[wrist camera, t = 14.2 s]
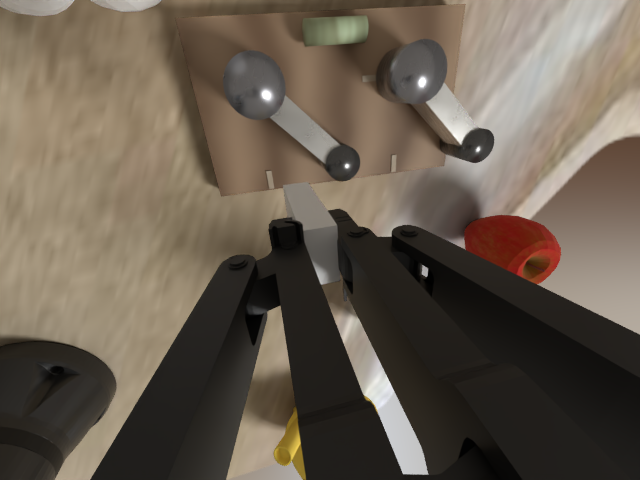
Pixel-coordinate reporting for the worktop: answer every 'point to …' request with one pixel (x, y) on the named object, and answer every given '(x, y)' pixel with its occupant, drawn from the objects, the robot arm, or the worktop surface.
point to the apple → (514, 245)
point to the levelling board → (316, 90)
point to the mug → (51, 3)
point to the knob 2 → (432, 97)
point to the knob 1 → (283, 110)
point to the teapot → (292, 446)
